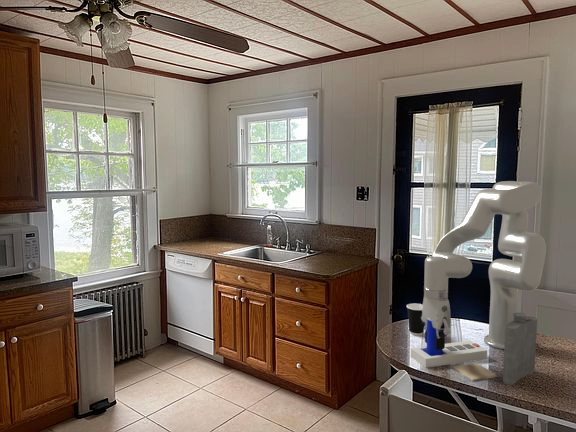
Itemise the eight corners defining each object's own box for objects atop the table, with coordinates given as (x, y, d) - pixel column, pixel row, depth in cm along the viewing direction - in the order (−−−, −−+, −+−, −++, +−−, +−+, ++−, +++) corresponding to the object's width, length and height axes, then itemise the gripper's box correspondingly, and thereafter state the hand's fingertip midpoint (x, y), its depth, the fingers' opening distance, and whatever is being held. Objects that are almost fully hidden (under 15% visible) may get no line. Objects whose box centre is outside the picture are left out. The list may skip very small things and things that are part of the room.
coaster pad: (477, 364, 146) (477, 363, 146) (496, 377, 138) (497, 375, 137) (453, 368, 144) (453, 366, 144) (472, 380, 135) (472, 379, 135)
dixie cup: (403, 329, 178) (404, 303, 177) (423, 330, 178) (424, 303, 177) (408, 337, 170) (409, 309, 169) (429, 337, 170) (430, 309, 169)
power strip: (469, 348, 159) (469, 339, 159) (486, 358, 151) (487, 348, 150) (410, 356, 153) (410, 346, 152) (425, 367, 144) (425, 357, 144)
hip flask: (511, 386, 132) (514, 321, 130) (497, 381, 135) (500, 317, 133) (536, 371, 141) (539, 310, 139) (523, 367, 144) (526, 307, 142)
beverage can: (443, 362, 147) (444, 319, 146) (427, 361, 148) (428, 318, 147) (441, 356, 152) (442, 314, 151) (425, 355, 153) (426, 313, 152)
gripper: (462, 299, 141) (460, 354, 143) (430, 285, 157) (429, 335, 159) (441, 301, 139) (440, 357, 141) (411, 287, 155) (411, 337, 157)
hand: (434, 345), depth 150 cm, fingers closed on beverage can, 5 cm apart
